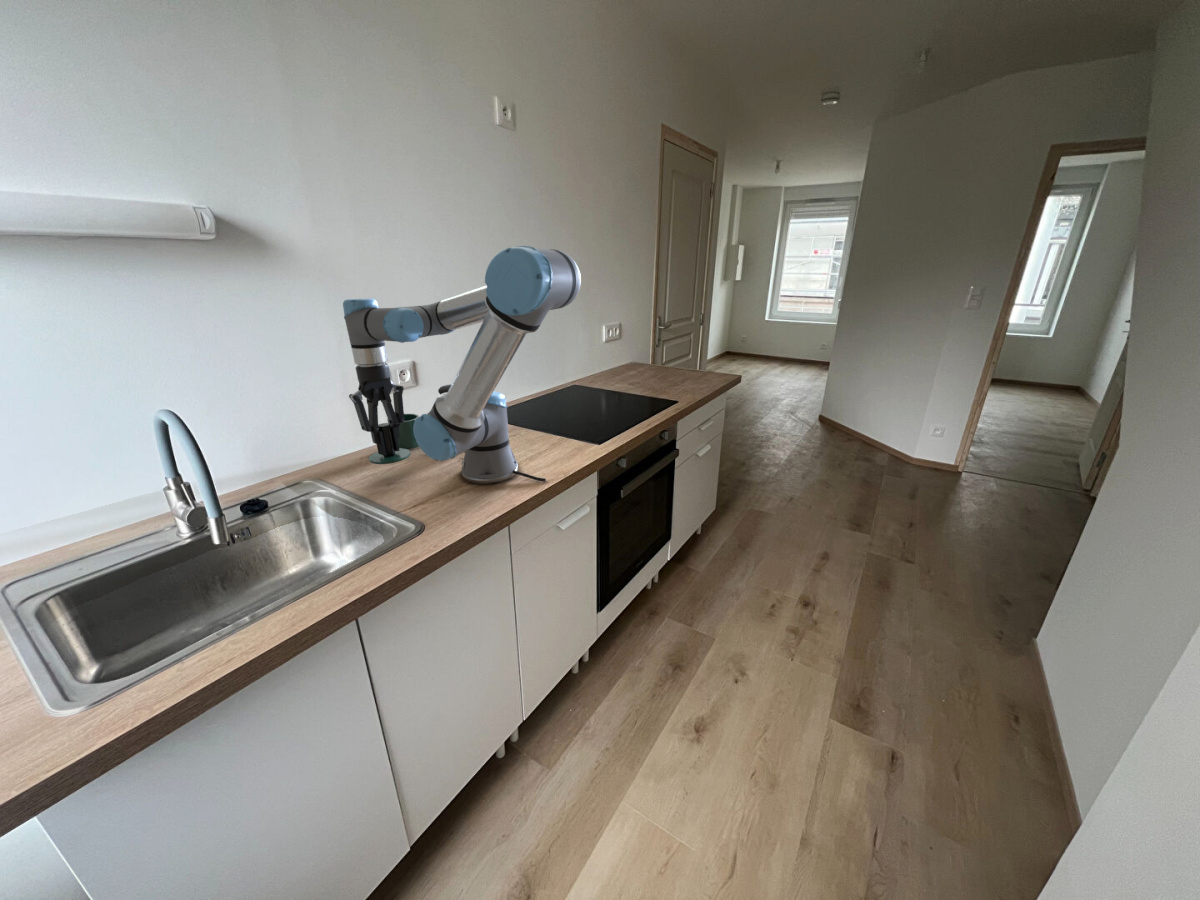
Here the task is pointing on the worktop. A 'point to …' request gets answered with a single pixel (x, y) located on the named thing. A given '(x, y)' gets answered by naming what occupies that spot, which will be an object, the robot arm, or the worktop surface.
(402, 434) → the tin
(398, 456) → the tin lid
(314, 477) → the worktop surface
